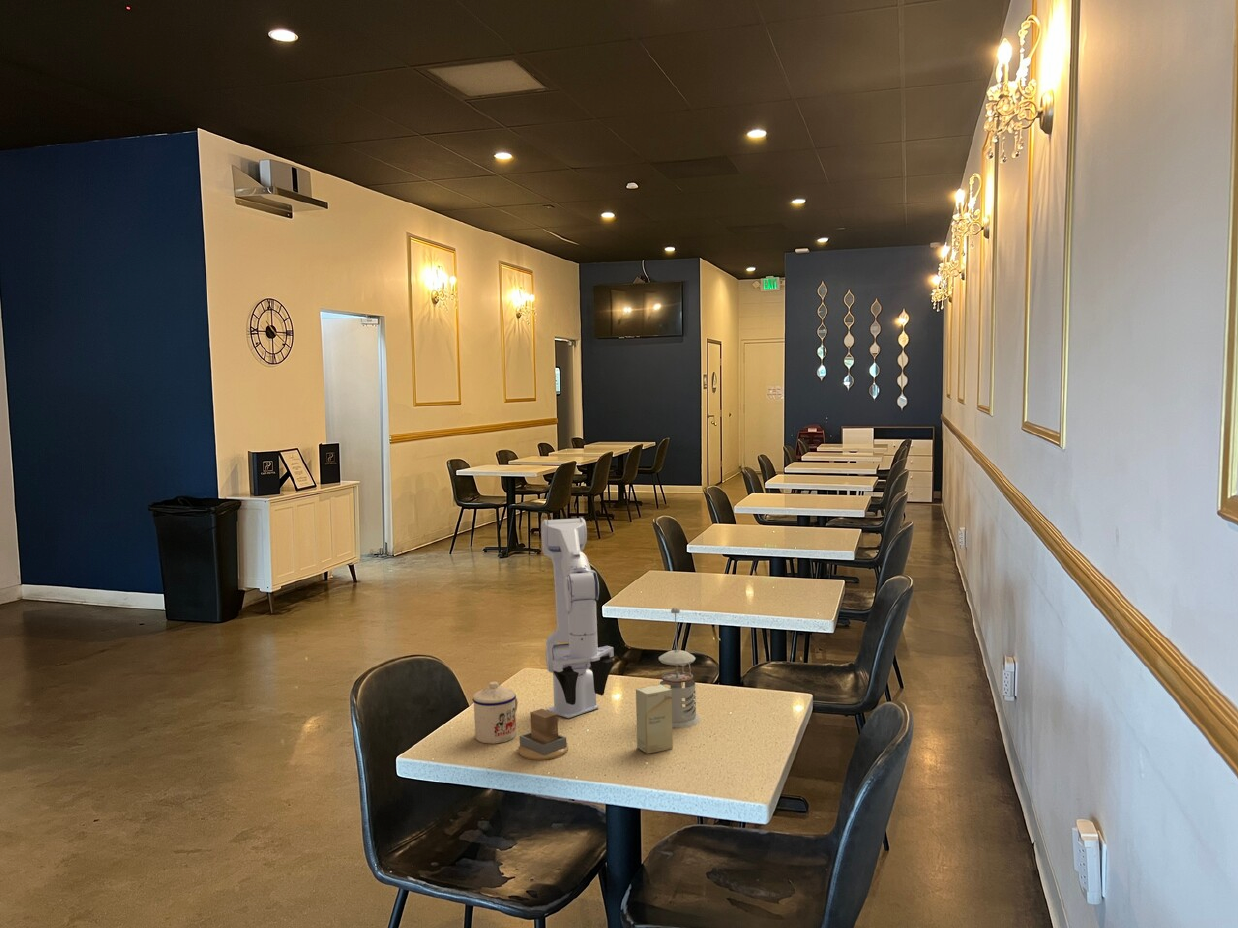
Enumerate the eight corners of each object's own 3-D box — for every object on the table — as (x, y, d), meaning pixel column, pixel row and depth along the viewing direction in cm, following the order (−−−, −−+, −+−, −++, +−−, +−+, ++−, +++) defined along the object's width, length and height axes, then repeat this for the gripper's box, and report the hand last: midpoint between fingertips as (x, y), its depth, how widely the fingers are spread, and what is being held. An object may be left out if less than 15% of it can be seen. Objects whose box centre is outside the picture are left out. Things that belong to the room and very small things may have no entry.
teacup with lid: (499, 747, 184) (497, 691, 183) (465, 740, 189) (462, 685, 188) (533, 728, 194) (531, 675, 194) (500, 722, 199) (498, 670, 198)
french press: (649, 724, 194) (646, 610, 193) (667, 707, 205) (664, 599, 203) (693, 729, 191) (690, 613, 189) (708, 711, 201) (705, 601, 200)
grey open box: (547, 737, 189) (546, 724, 189) (578, 749, 181) (577, 735, 181) (508, 750, 182) (508, 737, 182) (539, 764, 175) (538, 749, 174)
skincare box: (647, 754, 178) (645, 694, 177) (636, 747, 182) (634, 688, 181) (674, 748, 181) (672, 689, 180) (663, 741, 184) (661, 683, 184)
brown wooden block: (543, 741, 184) (541, 708, 184) (558, 748, 180) (557, 713, 180) (531, 746, 182) (530, 712, 182) (547, 752, 178) (545, 717, 178)
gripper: (567, 642, 172) (570, 712, 173) (622, 628, 182) (625, 694, 183) (544, 636, 177) (547, 704, 178) (599, 623, 187) (601, 687, 188)
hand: (585, 698), depth 181 cm, fingers open, 7 cm apart
